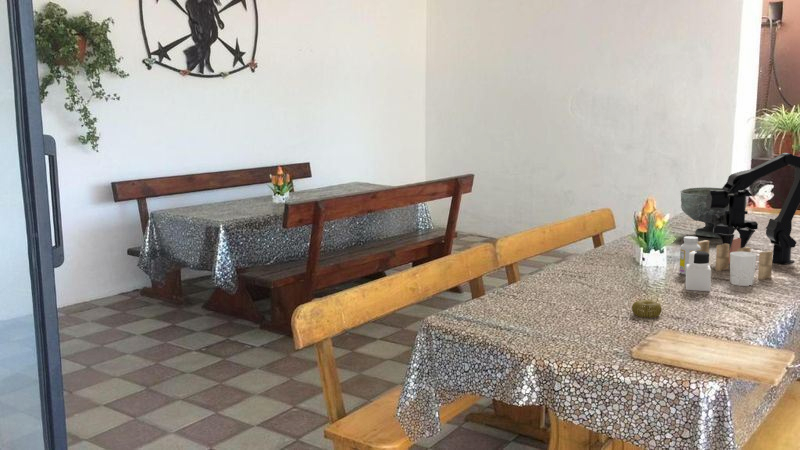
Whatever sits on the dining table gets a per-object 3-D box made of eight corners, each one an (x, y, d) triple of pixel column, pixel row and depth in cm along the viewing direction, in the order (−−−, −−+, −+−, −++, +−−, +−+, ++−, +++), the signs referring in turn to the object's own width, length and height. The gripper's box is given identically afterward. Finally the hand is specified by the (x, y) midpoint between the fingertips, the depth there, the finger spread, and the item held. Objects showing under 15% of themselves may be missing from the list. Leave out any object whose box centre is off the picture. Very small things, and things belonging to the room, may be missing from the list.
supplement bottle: (702, 273, 258) (704, 237, 256) (695, 276, 253) (697, 239, 251) (683, 270, 263) (685, 234, 260) (676, 274, 258) (677, 237, 256)
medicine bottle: (708, 286, 240) (710, 250, 238) (710, 291, 234) (712, 254, 232) (685, 284, 243) (686, 249, 241) (686, 290, 236) (687, 253, 234)
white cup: (757, 287, 238) (759, 256, 236) (731, 286, 240) (733, 256, 238) (751, 281, 246) (753, 251, 244) (726, 280, 247) (727, 251, 246)
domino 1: (704, 264, 271) (705, 240, 270) (708, 265, 270) (709, 240, 269) (695, 266, 269) (696, 241, 267) (699, 266, 267) (700, 242, 266)
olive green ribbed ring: (648, 297, 215) (668, 303, 208) (647, 310, 216) (667, 317, 208) (626, 300, 212) (645, 307, 205) (625, 314, 213) (645, 321, 205)
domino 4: (744, 272, 258) (746, 246, 257) (749, 272, 257) (750, 247, 255) (736, 274, 256) (737, 248, 254) (740, 275, 254) (741, 249, 253)
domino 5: (766, 276, 251) (768, 250, 250) (771, 277, 250) (772, 251, 249) (758, 278, 249) (759, 252, 247) (762, 279, 248) (764, 253, 246)
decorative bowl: (748, 233, 329) (751, 188, 325) (739, 243, 307) (742, 195, 304) (686, 229, 343) (688, 186, 339) (673, 238, 321) (675, 192, 318)
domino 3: (735, 261, 275) (737, 237, 274) (739, 262, 274) (741, 238, 272) (727, 263, 272) (728, 239, 271) (731, 263, 271) (732, 239, 270)
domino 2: (724, 268, 265) (725, 243, 263) (728, 268, 263) (729, 244, 262) (715, 270, 262) (716, 245, 261) (719, 270, 261) (720, 245, 259)
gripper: (732, 203, 281) (730, 243, 284) (701, 208, 271) (699, 250, 274) (759, 206, 272) (757, 248, 275) (728, 211, 262) (726, 255, 265)
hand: (734, 250), depth 272 cm, fingers open, 9 cm apart
